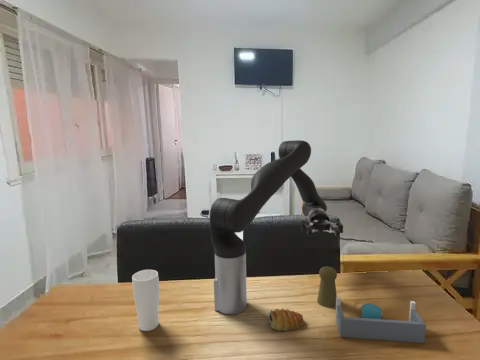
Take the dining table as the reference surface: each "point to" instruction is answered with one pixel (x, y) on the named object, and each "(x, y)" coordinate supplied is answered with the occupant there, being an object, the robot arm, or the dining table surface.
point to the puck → (371, 311)
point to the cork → (327, 287)
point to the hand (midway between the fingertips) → (324, 233)
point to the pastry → (285, 320)
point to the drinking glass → (146, 298)
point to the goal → (381, 327)
